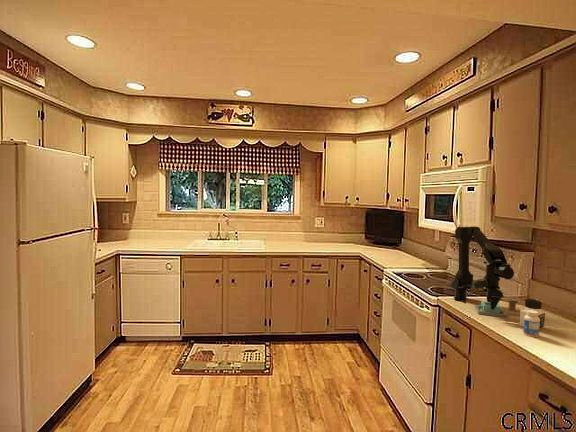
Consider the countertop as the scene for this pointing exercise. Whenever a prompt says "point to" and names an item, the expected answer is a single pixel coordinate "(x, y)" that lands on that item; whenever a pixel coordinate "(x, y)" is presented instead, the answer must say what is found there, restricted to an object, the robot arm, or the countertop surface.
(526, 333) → the pill bottle
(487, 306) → the ring
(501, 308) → the tray
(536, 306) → the labeled white jar
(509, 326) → the countertop surface
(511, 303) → the brown peg stand
